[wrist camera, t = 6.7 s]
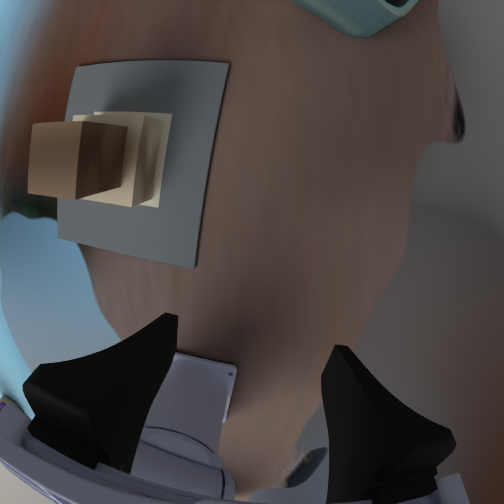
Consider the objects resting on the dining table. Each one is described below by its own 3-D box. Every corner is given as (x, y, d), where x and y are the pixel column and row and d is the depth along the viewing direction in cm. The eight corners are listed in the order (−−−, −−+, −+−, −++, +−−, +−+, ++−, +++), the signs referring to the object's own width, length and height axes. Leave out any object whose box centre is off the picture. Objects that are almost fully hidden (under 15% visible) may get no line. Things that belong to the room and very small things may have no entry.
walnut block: (120, 187, 17) (75, 200, 12) (75, 181, 17) (27, 193, 12) (128, 126, 15) (82, 120, 11) (81, 126, 15) (33, 123, 11)
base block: (152, 198, 20) (131, 207, 17) (90, 189, 20) (65, 196, 17) (163, 121, 18) (144, 115, 15) (98, 118, 18) (73, 115, 15)
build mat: (194, 267, 22) (193, 269, 22) (59, 236, 22) (57, 237, 22) (229, 64, 17) (229, 63, 17) (78, 67, 17) (76, 67, 17)
